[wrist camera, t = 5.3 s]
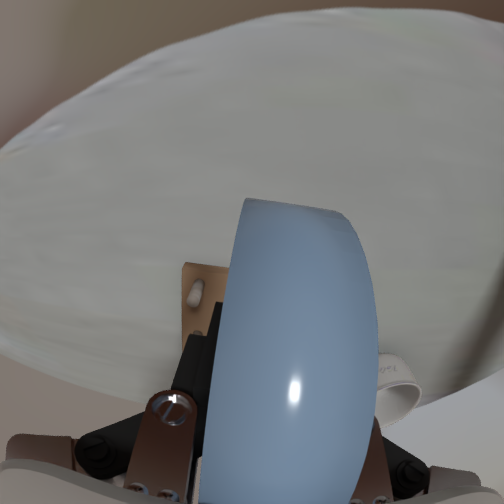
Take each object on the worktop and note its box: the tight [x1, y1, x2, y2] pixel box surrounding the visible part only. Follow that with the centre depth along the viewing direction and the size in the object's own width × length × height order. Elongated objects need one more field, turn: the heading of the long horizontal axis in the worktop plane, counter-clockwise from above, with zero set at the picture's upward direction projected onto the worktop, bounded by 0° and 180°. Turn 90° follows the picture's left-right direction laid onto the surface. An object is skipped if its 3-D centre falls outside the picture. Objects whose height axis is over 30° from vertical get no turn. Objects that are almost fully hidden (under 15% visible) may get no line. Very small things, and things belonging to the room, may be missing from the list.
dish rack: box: [182, 262, 229, 351], centre depth 33 cm, size 15×17×5 cm
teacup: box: [374, 353, 422, 429], centre depth 35 cm, size 14×11×8 cm
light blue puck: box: [198, 198, 379, 504], centre depth 9 cm, size 2×11×12 cm, turn 173°
